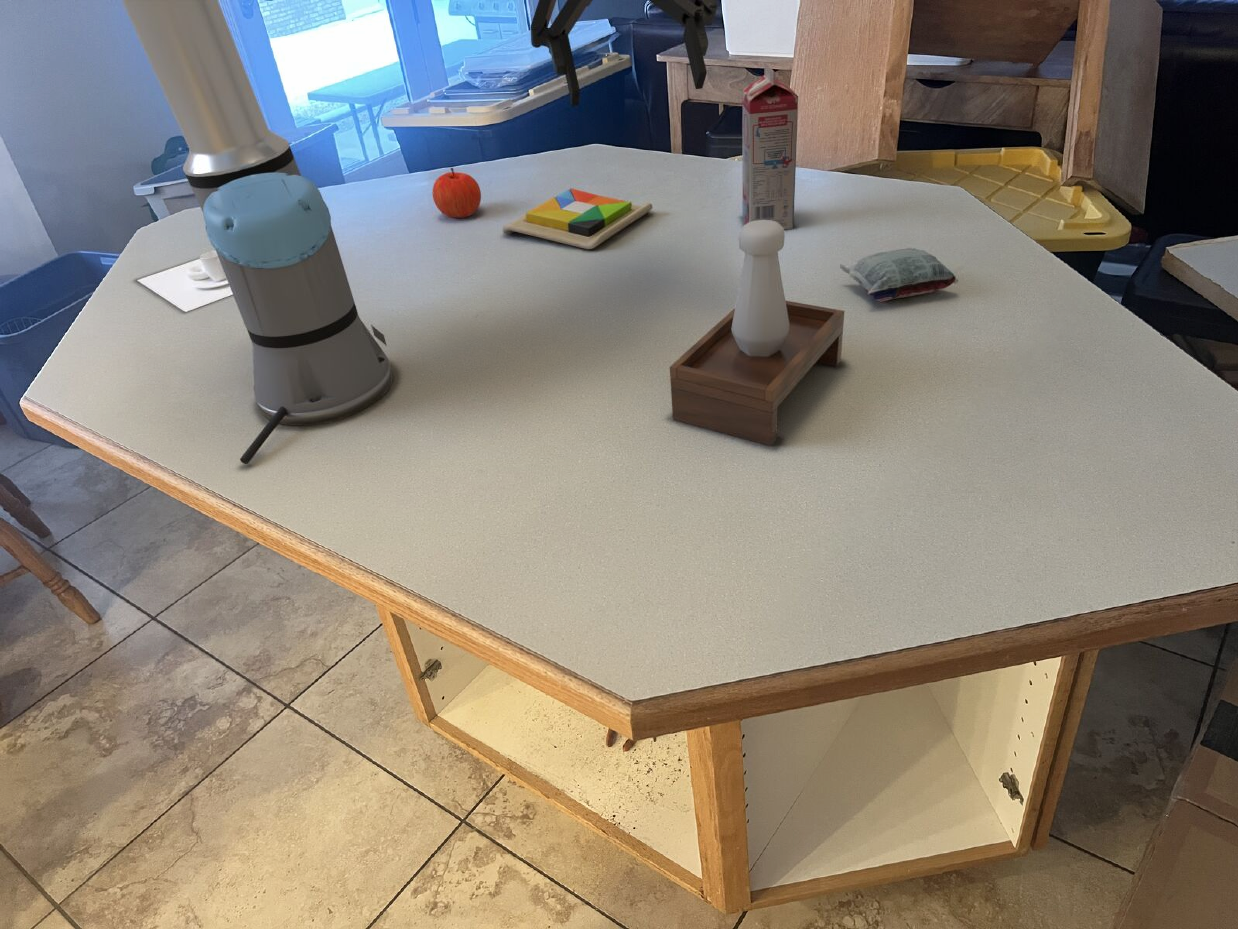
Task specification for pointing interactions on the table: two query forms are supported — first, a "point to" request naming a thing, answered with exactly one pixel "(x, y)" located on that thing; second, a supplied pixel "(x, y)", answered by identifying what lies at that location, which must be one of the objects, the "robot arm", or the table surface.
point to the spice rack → (751, 374)
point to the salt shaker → (760, 291)
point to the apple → (456, 194)
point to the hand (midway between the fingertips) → (639, 89)
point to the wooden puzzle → (578, 218)
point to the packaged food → (900, 274)
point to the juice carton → (769, 150)
